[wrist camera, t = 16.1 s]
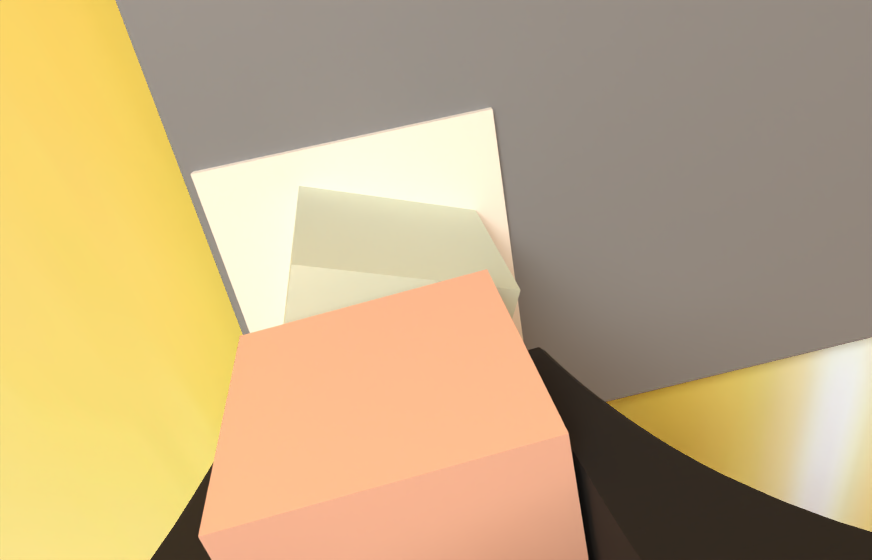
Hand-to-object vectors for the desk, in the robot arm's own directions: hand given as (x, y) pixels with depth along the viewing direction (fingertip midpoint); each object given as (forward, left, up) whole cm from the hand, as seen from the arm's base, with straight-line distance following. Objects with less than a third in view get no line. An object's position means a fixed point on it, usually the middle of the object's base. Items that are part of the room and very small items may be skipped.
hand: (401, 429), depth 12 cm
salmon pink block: (0, 0, -1) cm, 1 cm away
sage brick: (0, 0, -6) cm, 6 cm away
